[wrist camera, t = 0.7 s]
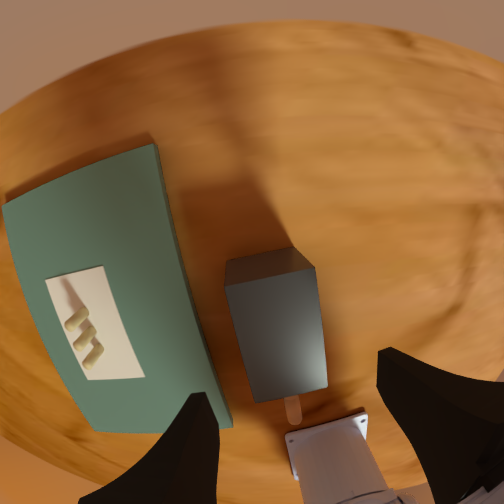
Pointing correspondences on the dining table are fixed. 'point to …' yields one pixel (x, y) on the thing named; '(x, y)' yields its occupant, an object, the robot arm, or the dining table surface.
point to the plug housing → (278, 325)
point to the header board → (113, 293)
